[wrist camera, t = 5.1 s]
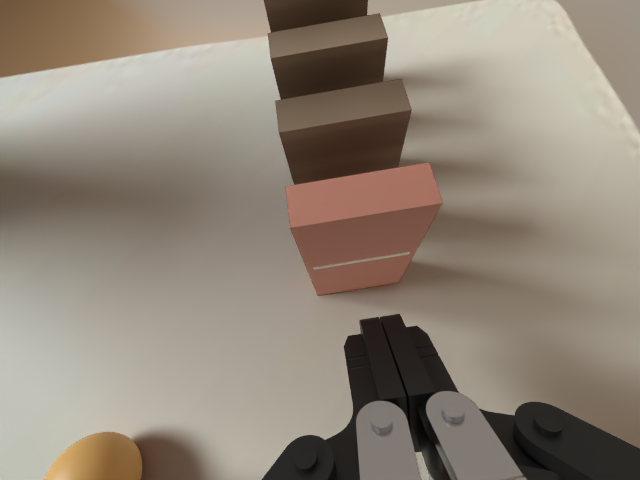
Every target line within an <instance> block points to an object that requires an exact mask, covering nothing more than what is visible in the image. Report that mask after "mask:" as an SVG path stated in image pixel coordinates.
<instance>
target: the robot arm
mask: <svg viewBox="0 0 640 480" xmlns="http://www.w3.org/2000/svg"><path fill="white" fill-rule="evenodd" d="M359 322H360V330H361V334H358V335H352V336H348V338H347V340H346V343H345V345H344V350H345V357H346V363H347V369H348V376H349V382H350V389H351V395H352V401H353V415H352V419H351V421H350V423H349V424H348V425H347V427H346V428H345V429H344V430H342V431H341V432H340V433H338V434H337V435H335V436H333V437H331V438H329V439H327V440H324V439H322V438H320V437H318V436H314V435H306V436H302V437H299V438H297V439H295V440H294V441H292V442H291V443H290V444H289V445H288V446H287V447H286V449H285V450H284V451H283V452H282V454H281V455H280V456H279V458H278V459H277V460H276V462H275V463H274V464H273V466H272V467H271V468H270V470H269V471H268V472H267V473H266V475H265V476H264V477H263V479H262V480H421V476H420V472H419V468H418V463H417V459H416V455H415V452H422V455H423V458H424V461H425V464H426V467H427V469H428V474H429V479H430V480H640V449H639V448H637V447H635V446H633V445H631V444H629V443H627V442H625V441H623V440H621V439H619V438H617V437H615V436H613V435H611V434H609V433H607V432H605V431H603V430H601V429H599V428H597V427H595V426H593V425H591V424H589V423H587V422H585V421H583V420H581V419H579V418H577V417H575V416H573V415H571V414H569V413H567V412H565V411H563V410H561V409H558V408H556V407H554V406H552V405H549V404H546V403H541V402H528V403H525V404H522V405H521V406H519V407H518V408H517V410H516V412H515V416H514V415H507V414H500V413H493V412H488V411H484V410H481V409H479V408H478V407H477V406H476V404H475V403H474V402H473V401H472V400H471V399H469V398H468V397H466V396H464V395H463V394H460V393H459V392H458V390H457V388H456V387H455V385H454V383H453V381H452V379H451V377H450V375H449V374H448V372H447V370H446V368H445V366H444V364H443V362H442V360H441V359H440V357H439V356H438V353H437V351H436V349H435V347H434V346H433V344H432V342H431V340H430V338H429V336H428V334H427V333H425V332H424V331H423V330H422V329H420V328H419V327H418V326H412V327H406V326H405V324H404V322H403V320H402V318H401V316H400V314H396V315H390V316H383V317H380V319H379V317H376V318H369V319H363V320H359Z"/></svg>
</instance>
